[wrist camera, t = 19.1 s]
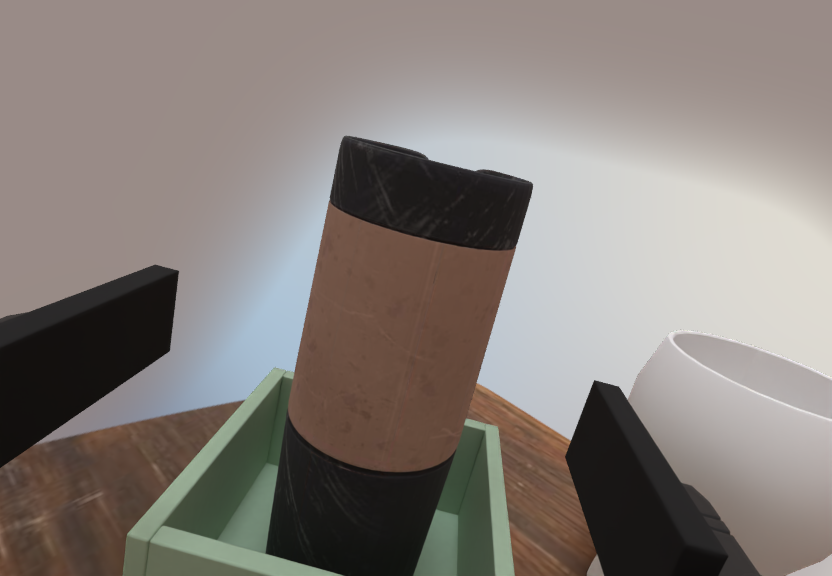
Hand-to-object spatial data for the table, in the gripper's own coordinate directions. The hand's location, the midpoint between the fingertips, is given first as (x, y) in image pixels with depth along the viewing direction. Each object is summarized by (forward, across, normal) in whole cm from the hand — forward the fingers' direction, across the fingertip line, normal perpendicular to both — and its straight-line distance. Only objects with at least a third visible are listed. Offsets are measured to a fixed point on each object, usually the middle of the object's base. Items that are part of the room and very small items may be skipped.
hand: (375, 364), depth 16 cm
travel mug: (+6, 0, -14) cm, 15 cm away
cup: (+9, +18, -15) cm, 25 cm away
